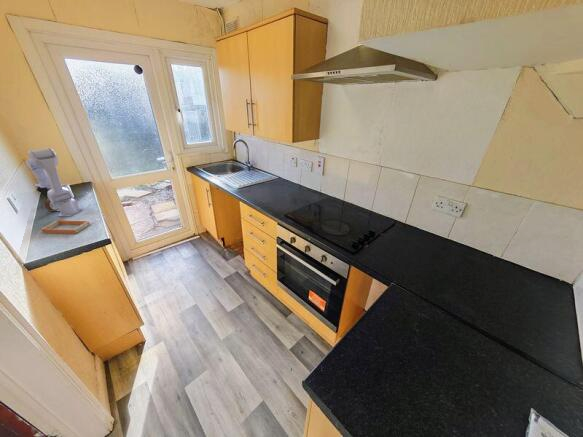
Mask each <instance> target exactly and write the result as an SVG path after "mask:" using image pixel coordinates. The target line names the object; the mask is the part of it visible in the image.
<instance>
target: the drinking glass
mask: <svg viewBox="0 0 583 437" xmlns="http://www.w3.org/2000/svg"><path fill="white" fill-rule="evenodd" d="M61 185H62V187H66V188H67V189H68V190H69V191H70V193H71V195H72V199H74V198H75V195H74V193H73V191H72V189H71V187H70V184H69V183H63V184H62V183H61Z"/></svg>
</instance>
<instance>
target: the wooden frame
mask: <svg viewBox="0 0 583 437" xmlns="http://www.w3.org/2000/svg"><path fill="white" fill-rule="evenodd" d="M59 225H71V226H72V225H74V226H75V225H76V226H77V227H75V228H74V229H71V228H70V229H68V228H67V229H66V228H65V229H64V228H55V227H57V226H59ZM90 225H91V224H90V222H89V220H60V219H59V220H55V221H54V222H52V223H50V224H48V225H46V226H44V227H42V228H41V229H40V230H41V232H42V233H43V234H73V235H74V234H75V235H76V234H78V233H79V232H81V231H82V230H84V229H85V228H88V226H90Z"/></svg>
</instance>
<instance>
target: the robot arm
mask: <svg viewBox="0 0 583 437" xmlns="http://www.w3.org/2000/svg"><path fill="white" fill-rule="evenodd" d="M27 155H28V157H29V159H27V160H25V163H26V165H27V167H28V168H29V169H30V170H31V171H32V173H33V175H34V176H35V178H36V180H37V181H38V183H35V184H34V187H35V190H36V191H37V192H39V193H40V194H41V195H42V196H44V198H46V199H49V200H50V201H51V202H52V203H56V205H57V207H58V209H59V210H60V211H59V212H60V214H58V215H57V216H58V217H72V216H73V215H75V214H77V213H79V212H81V211H82V210H83V209H82V208H81V207H80V205H79V203H78V202H77V200H76V199H74V198H72V195H71V193H70V191H69V190H68V189H67V188H66V187H62V182H61V179H60V176H59V172H58V168H57V166H59V164H60V162H59V158H58V156H57V153H56V152H55V150H54V149H52V148H51V147H48V148H42V149H36V150H28V151H27ZM48 188H50V189H48Z"/></svg>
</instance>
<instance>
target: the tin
mask: <svg viewBox="0 0 583 437" xmlns="http://www.w3.org/2000/svg"><path fill="white" fill-rule="evenodd" d="M44 207H45V209H46V210H48V211H49V210H58V207H57V205H56V203H52V202H51V201H50V200H49V198H46V200H45V202H44Z"/></svg>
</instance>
